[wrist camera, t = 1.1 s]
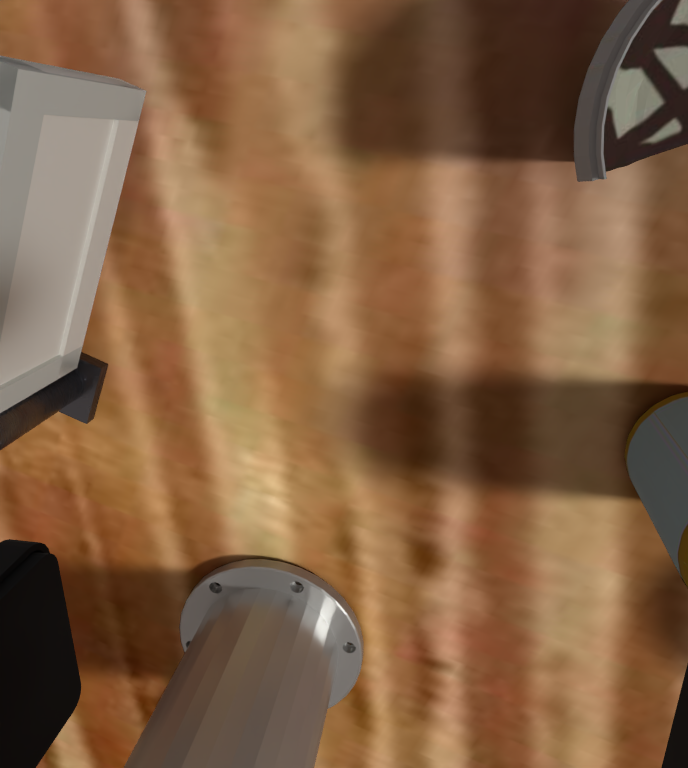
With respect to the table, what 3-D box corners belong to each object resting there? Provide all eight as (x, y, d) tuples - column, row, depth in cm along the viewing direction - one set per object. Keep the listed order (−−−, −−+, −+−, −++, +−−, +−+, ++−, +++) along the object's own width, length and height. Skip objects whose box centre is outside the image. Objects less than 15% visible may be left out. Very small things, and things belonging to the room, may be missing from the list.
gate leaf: (77, 367, 38) (-46, 440, 29) (53, 357, 38) (-77, 426, 29) (146, 90, 32) (18, 68, 22) (118, 78, 32) (-22, 51, 22)
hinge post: (93, 418, 40) (-62, 535, 28) (35, 392, 40) (-144, 498, 28) (108, 364, 39) (-49, 463, 27) (47, 337, 39) (-136, 424, 27)
